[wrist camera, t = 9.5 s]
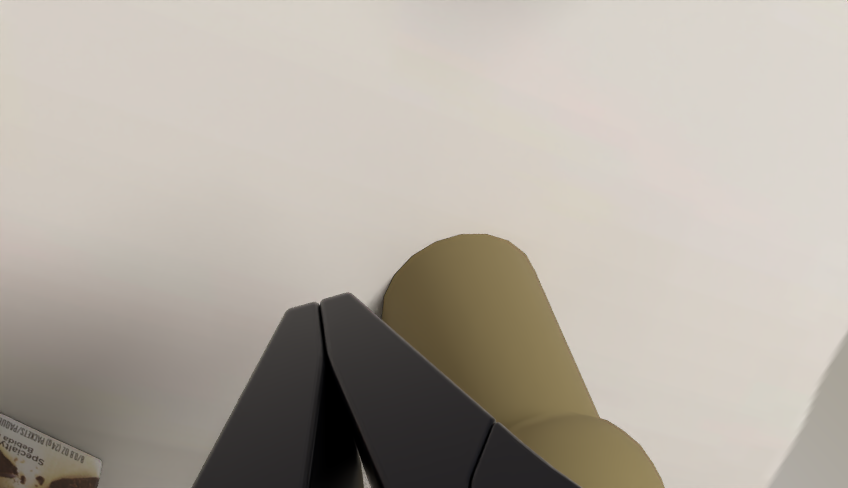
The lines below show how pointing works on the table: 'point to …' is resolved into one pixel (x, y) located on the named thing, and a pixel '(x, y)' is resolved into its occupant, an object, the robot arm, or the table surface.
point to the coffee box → (42, 460)
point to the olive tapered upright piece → (510, 355)
